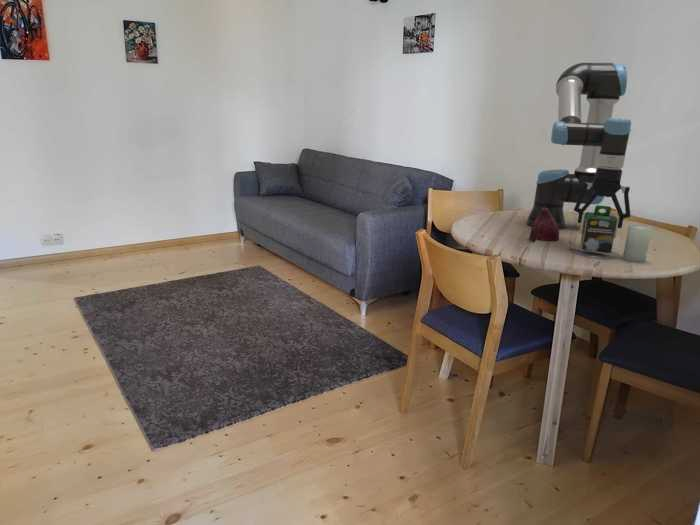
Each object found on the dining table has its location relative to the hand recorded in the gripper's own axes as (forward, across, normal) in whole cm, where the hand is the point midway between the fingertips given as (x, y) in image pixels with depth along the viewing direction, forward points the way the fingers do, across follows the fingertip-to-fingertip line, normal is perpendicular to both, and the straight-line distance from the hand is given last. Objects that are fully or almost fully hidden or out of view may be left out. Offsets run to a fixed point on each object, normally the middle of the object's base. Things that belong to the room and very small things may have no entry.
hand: (597, 234), depth 174 cm
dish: (+7, 0, 0) cm, 7 cm away
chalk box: (+5, 0, 0) cm, 5 cm away
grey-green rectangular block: (+7, +12, -1) cm, 14 cm away
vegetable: (+8, -18, +11) cm, 22 cm away
